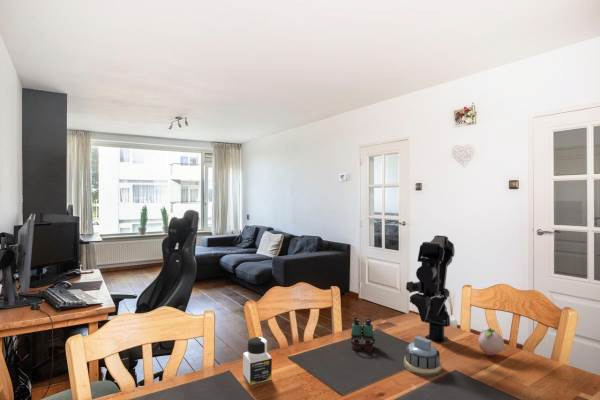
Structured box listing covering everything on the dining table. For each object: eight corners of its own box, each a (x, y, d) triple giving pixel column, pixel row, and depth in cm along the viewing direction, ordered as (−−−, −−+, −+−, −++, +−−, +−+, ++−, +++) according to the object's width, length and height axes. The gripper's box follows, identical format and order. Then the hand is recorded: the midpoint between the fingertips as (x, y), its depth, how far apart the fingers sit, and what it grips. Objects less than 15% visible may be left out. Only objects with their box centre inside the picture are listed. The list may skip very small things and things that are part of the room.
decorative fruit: (503, 363, 122) (504, 335, 121) (477, 357, 126) (477, 330, 125) (503, 353, 130) (504, 326, 130) (478, 347, 134) (479, 322, 134)
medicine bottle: (250, 385, 106) (250, 346, 106) (242, 374, 112) (243, 337, 112) (271, 379, 109) (272, 341, 109) (263, 369, 116) (263, 333, 115)
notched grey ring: (415, 355, 127) (415, 340, 127) (447, 368, 118) (448, 352, 118) (396, 366, 119) (397, 350, 119) (430, 380, 110) (430, 363, 110)
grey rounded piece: (403, 358, 119) (403, 338, 119) (416, 350, 125) (417, 331, 125) (428, 369, 112) (428, 347, 112) (441, 360, 118) (441, 339, 118)
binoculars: (351, 327, 127) (350, 315, 137) (351, 355, 128) (350, 340, 138) (376, 329, 126) (373, 316, 136) (376, 356, 127) (373, 341, 137)
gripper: (423, 269, 141) (422, 307, 141) (397, 276, 128) (396, 318, 129) (450, 274, 133) (449, 315, 133) (425, 282, 120) (424, 327, 121)
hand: (429, 318), depth 129 cm, fingers open, 9 cm apart
